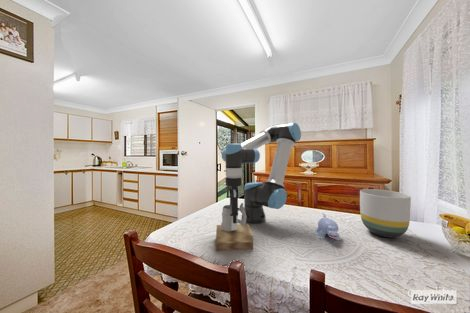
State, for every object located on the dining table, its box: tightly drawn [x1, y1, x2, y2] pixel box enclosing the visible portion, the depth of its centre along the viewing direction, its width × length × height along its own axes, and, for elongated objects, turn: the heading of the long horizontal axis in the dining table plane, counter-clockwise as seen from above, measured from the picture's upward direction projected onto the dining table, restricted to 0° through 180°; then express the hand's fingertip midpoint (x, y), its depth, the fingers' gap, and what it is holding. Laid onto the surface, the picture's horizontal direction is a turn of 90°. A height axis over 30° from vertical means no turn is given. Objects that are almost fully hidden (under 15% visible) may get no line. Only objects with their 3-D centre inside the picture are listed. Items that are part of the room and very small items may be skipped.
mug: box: [220, 202, 247, 231], centre depth 80 cm, size 8×12×12 cm, turn 82°
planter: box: [359, 188, 412, 239], centre depth 88 cm, size 20×20×21 cm
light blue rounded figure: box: [314, 212, 342, 241], centre depth 86 cm, size 11×15×10 cm
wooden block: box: [215, 223, 254, 252], centre depth 81 cm, size 16×12×6 cm
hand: (233, 225), depth 80 cm, fingers open, 8 cm apart
